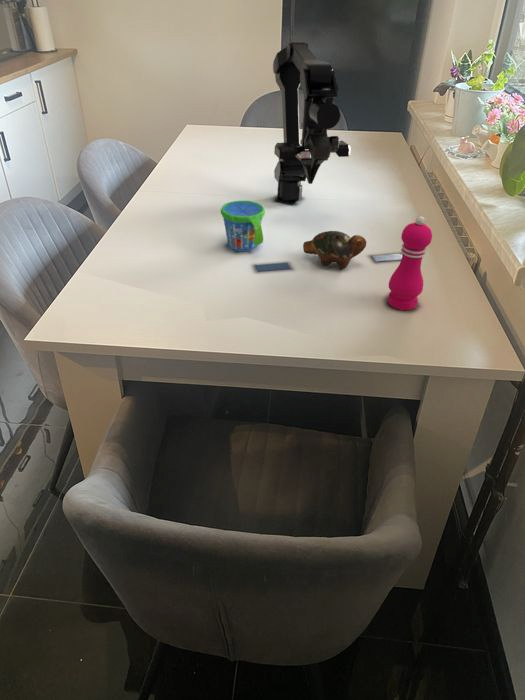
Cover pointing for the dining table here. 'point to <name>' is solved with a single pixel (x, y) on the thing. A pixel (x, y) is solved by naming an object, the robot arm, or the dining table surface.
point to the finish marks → (285, 266)
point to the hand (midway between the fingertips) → (310, 183)
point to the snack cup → (243, 224)
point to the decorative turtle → (335, 247)
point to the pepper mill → (410, 266)
